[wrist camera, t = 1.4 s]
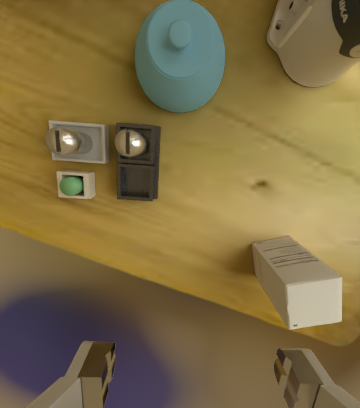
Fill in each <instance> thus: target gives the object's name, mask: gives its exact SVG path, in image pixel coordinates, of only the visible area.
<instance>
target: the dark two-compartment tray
mask: <svg viewBox="0 0 360 408" xmlns="http://www.w3.org/2000/svg"><path fill="white" fill-rule="evenodd" d="M124 129H130V130H133V131H135V132H138V133H140V134H142V135H144V136H145V137H146V138H147V140H148V142H149V148H148V150H147V152H146V153H145V154H143V155H138V156H131V157H127V156H123V155H121V154H120V153H119V152H118V151H117V162H118V163H117V199H127V200H141V201H153V199H157V198H158V177H159V154H160V131H161V127H159V126H154V125H141V124H128V123H117V134H118V132H120V131H121V130H124Z"/></svg>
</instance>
